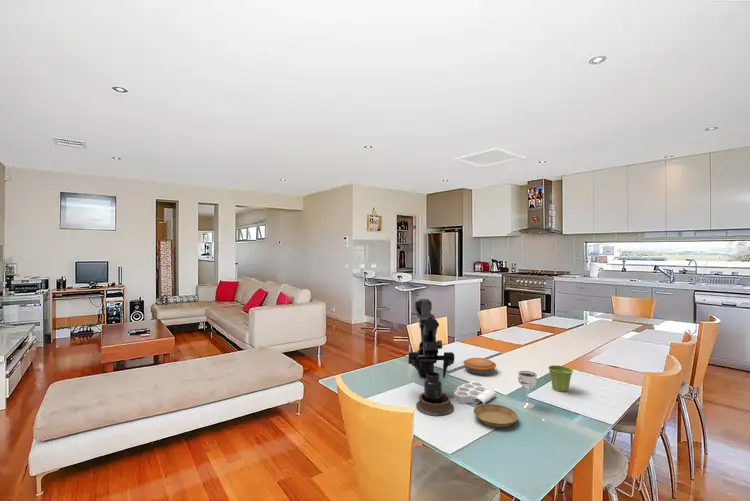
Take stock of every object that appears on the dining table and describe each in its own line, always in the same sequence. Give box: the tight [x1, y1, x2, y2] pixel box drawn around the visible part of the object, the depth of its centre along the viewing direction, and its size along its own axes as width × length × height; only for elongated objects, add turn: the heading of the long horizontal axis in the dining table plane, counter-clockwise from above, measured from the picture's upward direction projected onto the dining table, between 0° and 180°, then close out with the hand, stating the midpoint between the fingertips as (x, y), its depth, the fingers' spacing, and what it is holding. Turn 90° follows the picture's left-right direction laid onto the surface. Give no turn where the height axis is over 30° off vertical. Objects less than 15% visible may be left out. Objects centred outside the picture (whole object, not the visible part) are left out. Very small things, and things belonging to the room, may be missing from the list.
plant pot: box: [547, 364, 574, 392], centre depth 152 cm, size 9×9×9 cm
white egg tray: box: [453, 381, 497, 406], centre depth 145 cm, size 3×18×15 cm
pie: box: [462, 357, 497, 376], centre depth 175 cm, size 15×16×5 cm
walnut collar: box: [415, 392, 455, 417], centre depth 136 cm, size 14×14×4 cm
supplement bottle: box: [423, 371, 443, 404], centre depth 136 cm, size 7×7×12 cm
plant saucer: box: [472, 403, 519, 428], centre depth 126 cm, size 15×15×3 cm
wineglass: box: [517, 370, 538, 409], centre depth 137 cm, size 7×7×12 cm
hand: (432, 377), depth 144 cm, fingers open, 9 cm apart
